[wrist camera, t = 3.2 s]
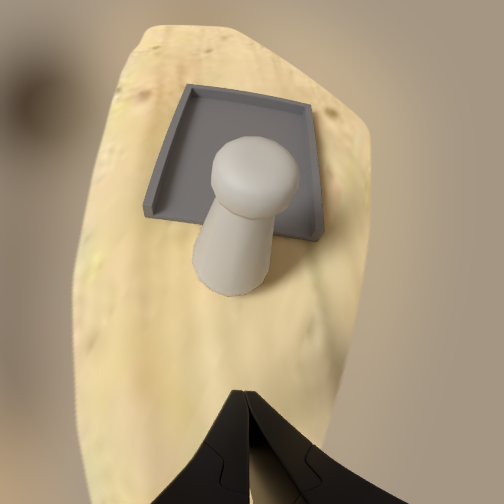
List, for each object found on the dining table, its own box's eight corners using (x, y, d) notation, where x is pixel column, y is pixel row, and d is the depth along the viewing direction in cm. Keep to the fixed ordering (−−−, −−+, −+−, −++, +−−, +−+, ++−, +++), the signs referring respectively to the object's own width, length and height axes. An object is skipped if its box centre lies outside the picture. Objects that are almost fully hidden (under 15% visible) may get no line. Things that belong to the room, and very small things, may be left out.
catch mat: (317, 241, 28) (324, 231, 26) (144, 217, 26) (142, 205, 24) (306, 115, 37) (310, 105, 35) (186, 95, 35) (186, 83, 33)
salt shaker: (242, 318, 24) (292, 234, 12) (178, 282, 24) (170, 171, 12) (273, 259, 26) (333, 151, 15) (215, 228, 27) (236, 105, 15)
